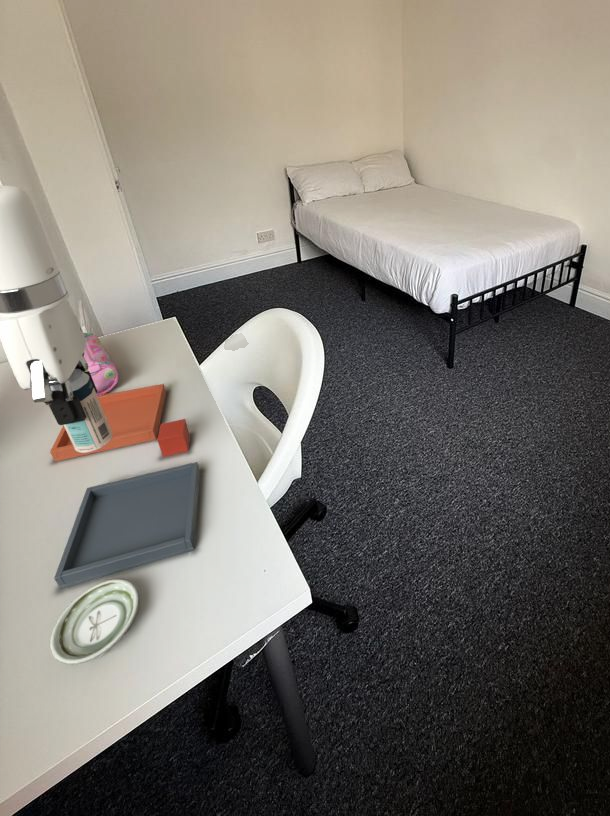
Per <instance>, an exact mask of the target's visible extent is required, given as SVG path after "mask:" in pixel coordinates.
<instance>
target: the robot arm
mask: <svg viewBox="0 0 610 816" xmlns="http://www.w3.org/2000/svg"><path fill="white" fill-rule="evenodd" d="M69 296H70V293H69V290H68V288H67V286H66V283H65V281H64V278H63V275H62V273H61V270H60V268H59V265H58V263H57V260H56V257H55V255H54V253H53V249H52V248H51V245H50V242H49V240H48V237H47V235H46V232H45V230H44V228H43V224H42V223H41V220H40V217H39V215H38V212H37V210H36V208H35V205H34V203H33V200H32V199H31V197H30V195H29V194H28V193H27V192H26V191H25V190H24V189H22V188H21V187H18V186H14V185H7V184H5V185H4V184H2V185H0V343H1V345H2V348H3V351H4V353H5V356H6V358H7V361H8V364H9V366H10V369H11V371H12V373H13V375H14V378H15V379H16V381H17V383H18V385H19V387H20V388H21V389H22V390H25V391H27V390H31V391H32V393H31V394H32V402H34V403H43V404H45V405H46V406H48V407H49V409H50V411H51V413H52V415H53V417H54V419H55V421H56V423H57V425H59V426H63V425H66V424H71V423H76V422H81V421H84V420H85V419H86V414H85V412H84V409H83V407H82V405H81V402H80V400H79V398H78V396H77V395H74V396H73V392H72V389H71V385H70V381H69V377H70V376H71V374H72V373H73V371H74V369H80V370H81V371H83V372H84V373H86V374H88V376H89V377H90V380H91V382H92V385H93V387H94V389H95V392H96V394H97V389H96V386H95V384H94V382H93V379H92V377H91V374H90V372H89V371H87V370H88V364H87V362H86V360H85V359H84V351H85V348H86V341H85V338H84V335H83V333H84V332H83V329H82V327H81V325H80V322H79V319H78V318H77V316H76V313H75V311H74V309H73V307H72V305H71V303H70V301H69V299H68V298H69ZM85 371H86V372H85ZM49 377H51V378H52V377H53V379H50V378H49ZM55 377H56V378H55ZM58 384H61V387H62V390H63V391H59V390H56V391H53V390H51V387H50V386H52V385H58Z"/></svg>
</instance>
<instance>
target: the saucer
mask: <svg viewBox="0 0 610 816" xmlns="http://www.w3.org/2000/svg"><path fill="white" fill-rule="evenodd" d="M139 597H140V596H139V592H138V590H137V588H136V586H135V585H134V584H133V583H132V582H130V581H128V580H125V579H121V578H120V579H119V578H117V579H116V578H115V579H108V580H105V581H102V582H99V583H97V584H95V585H93V586H91V587H89V588H87V589H86V590H85V591H83V592H82V593H81V594H79V595H78V596H76V597H75V598H74V599H73V600H72V601H71V603H69V604H68V605H67V606H66V608H65V609H64V610H63V611H62V613H61V614H60V616H59V617H58V619H57V621H56V623H55V624H54V627H53V629H52V632H51V635H50V641H49V645H50V646H49V647H50V652H51V654H52V656H53V657H54V659H55V660H56V661H58V662H59V663H61V664H64V665H71V666H72V665H73V666H74V665H80V664H81V665H82V664H84V663H88V662H90V661H93V660H95V659H97V658H99V657H100V656H102V655H103V654H105V653H106V652H108V651H110V649H112V647H114V646H115V645H116V644H117V643H118V642H119V641H120V640H121V639H122V637H124V636H125V635H126V633H127V631H128V630H129V628H130V627H131V625H132V623H133V622H134V620H135V617H136V615H137V612H138V609H139V602H140V598H139Z"/></svg>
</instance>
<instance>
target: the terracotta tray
mask: <svg viewBox="0 0 610 816" xmlns="http://www.w3.org/2000/svg"><path fill="white" fill-rule="evenodd" d="M166 396H167V390H166V387H165V383H160V384H154V385H150V386H149V385H148V386H143V387H139V388H134V389H127V390H123V391H116V392H111V393H105V394H104V395H100V396H97V397H98V399H99V401H100V404H101V406H102V409H103V411H104V414H105V416H106V418H107V421H108V423H109V426H110V428H111V430H112V437H111V439H110V441H109V442H108V443H106V444H105V445H104V446H103V447H101V448H99V449H97V450H95V451H92V452H85V453H81V452H78V451H76V450H75V448H74V446H73V444H72V442H71V440H70V438H69V436H68V434H67V431H66V429H65V427H64V425H62V426H61V428H60V430H59V433H58V435H57V437H56V438H55V441H54V443H53V445H52V447H51V448H50V451H49V453H50V455H51V457H52V458H53V461H54V462H59V461H64V460H69V459H73V458H74V459H75V458H78V457H82V456H87V455H92V454H96V453H100V452H101V453H102V452H105V451H110V450H114V449H119V448H123V447H129V446H133V445H137V444H142V443H146V442H147V443H148V442H151V441H156V440H157V439H158V434H159V430H160V425H161V419H162V415H163V410H164V405H165V401H166Z"/></svg>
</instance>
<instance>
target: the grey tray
mask: <svg viewBox="0 0 610 816" xmlns="http://www.w3.org/2000/svg"><path fill="white" fill-rule="evenodd" d="M200 480H201V469H200V466H199V463H198V461H195V462H190V463H187V464H182V465H178V466H174V467H170V468H165V469H161V470H157V471H153V472H149V473H143V474H140V475H135V476H132V477H128V478H123V479H119V480H115V481H110V482H107V483H106V482H105V483H102V484H98V485H94V486H89V487H87V488H86V489H85V493H84V495H83V497H82V501H81V503H80V506H79V509H78V511H77V513H76V517H75V520H74V523H73V525H72V528H71V531H70V534H69V537H68V539H67V543H66V545H65V547H64V550H63V553H62V556H61V558H60V561H59V564H58V567H57V569H56V571H55V575H54V577H53V579H54V581H55V582H56V584H57V586H58V587H59V589H60V590H62V589H65V588H71V587H73V586H76V585H80V584H82V583H86V582H90V581H94V580H97V579H100V578H104V577H106V576H110V575H114V574H118V573H121V572H125V571H128V570H131V569H135V568H138V567H141V566H145V565H148V564H152V563H155V562H159V561H162V560H165V559H169V558H173V557H177V556H180V555H183V554H186V553H189V552H193V551H195V544H196V543H195V541H196V531H197V517H198V506H199V494H200V493H199V492H200Z"/></svg>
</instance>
